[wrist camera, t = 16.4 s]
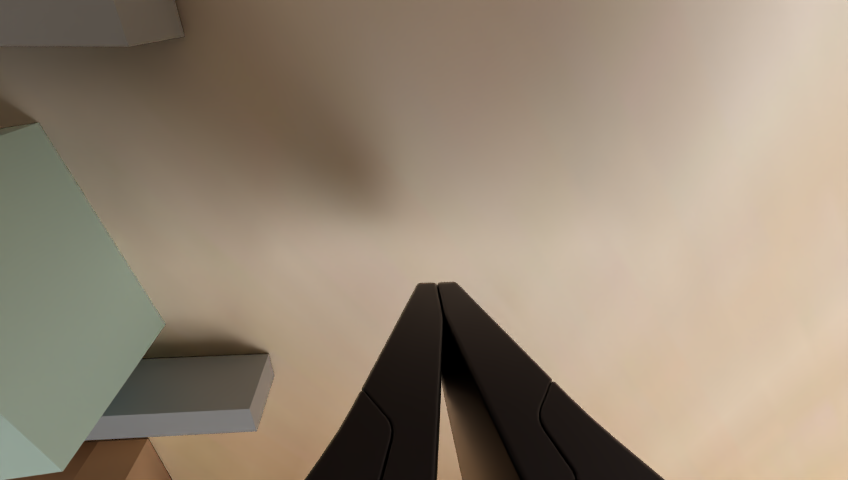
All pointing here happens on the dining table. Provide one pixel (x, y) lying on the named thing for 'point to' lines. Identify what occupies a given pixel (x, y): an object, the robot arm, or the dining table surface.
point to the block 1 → (59, 310)
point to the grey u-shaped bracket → (164, 377)
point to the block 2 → (111, 462)
